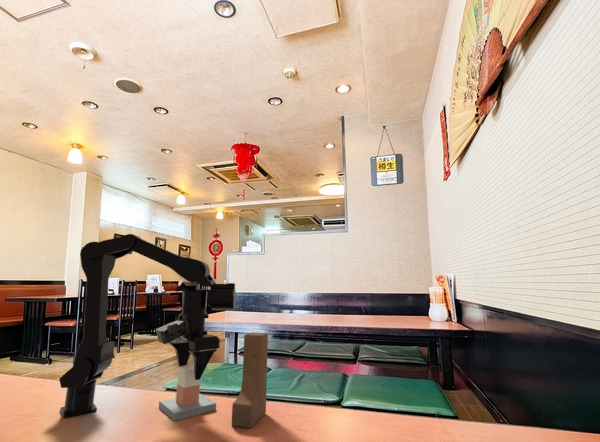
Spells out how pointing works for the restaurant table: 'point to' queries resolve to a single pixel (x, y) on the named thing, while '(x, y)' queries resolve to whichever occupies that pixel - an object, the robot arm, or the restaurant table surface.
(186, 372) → the cream brick
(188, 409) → the build plate
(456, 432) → the restaurant table surface
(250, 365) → the wooden block
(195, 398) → the terracotta brick
